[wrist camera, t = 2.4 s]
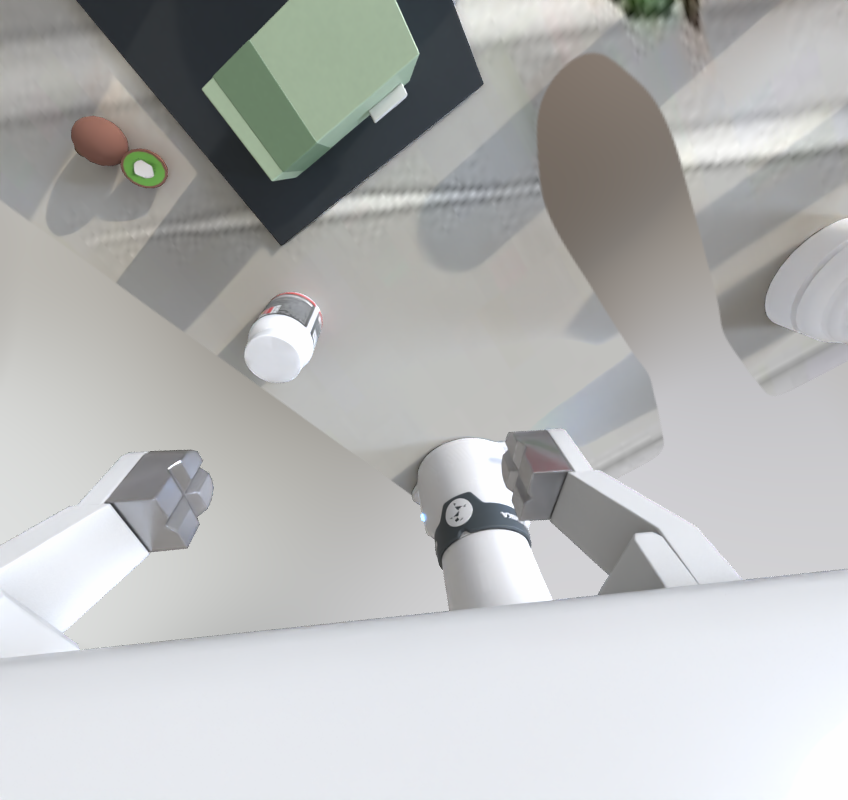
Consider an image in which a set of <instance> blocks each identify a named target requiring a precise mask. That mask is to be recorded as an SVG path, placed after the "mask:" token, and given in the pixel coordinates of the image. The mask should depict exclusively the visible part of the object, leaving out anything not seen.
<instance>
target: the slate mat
mask: <svg viewBox="0 0 848 800" xmlns="http://www.w3.org/2000/svg"><path fill="white" fill-rule="evenodd" d="M287 1H288V0H77V2H78V3H79V4H80V5H81V6H82V8H83V9H84V10H85V11H86V12H87V14H88V15H89V16H90V17H91V18H92V20H93V21H94V22H95V23H96V24H97V26H98V27H99V28H100V29H101V30H102V32H103V33H104V34H105V35H106V36H107V38H108V39H109V40H110V41H111V42H112V44H113V45H114V46H115V47H116V48H117V50H118V51H119V52H120V53H121V54H122V56H123V57H124V58H125V59H126V60H127V62H128V63H129V64H130V65H131V66H132V67H133V69H134V70H135V71H136V72H137V73H138V75H139V76H140V77H141V78H142V79H143V81H144V82H145V83H146V84H147V85H148V87H149V88H150V89H151V90H152V91H153V93H154V94H155V95H156V96H157V97H158V99H159V100H160V101H161V102H162V103H163V105H164V106H165V107H166V108H167V109H168V111H169V112H170V113H171V114H172V115H173V117H174V118H175V119H176V120H177V121H178V123H179V124H180V125H181V126H182V127H183V129H184V130H185V131H186V132H187V133H188V135H189V136H190V137H191V138H192V139H193V141H194V142H195V143H196V144H197V145H198V147H199V148H200V149H201V150H202V151H203V153H204V154H205V155H206V156H207V157H208V158H209V160H210V161H211V162H212V163H213V164H214V166H215V167H216V168H217V169H218V170H219V172H220V173H221V174H222V175H223V176H224V178H225V179H226V180H227V181H228V182H229V184H230V185H231V186H232V187H233V188H234V190H235V191H236V192H237V193H238V194H239V196H240V197H241V198H242V199H243V200H244V202H245V203H246V204H247V205H248V206H249V208H250V209H251V210H252V211H253V212H254V214H255V215H256V216H257V217H258V218H259V220H260V221H261V222H262V223H263V224H264V226H265V227H266V228H267V229H268V230H269V232H270V233H271V234H272V235H273V236H274V238H275V239H276V240H277V241H278V242H279V244H280V245H283V244H284V243H285V242H287V241H288V240H289V239H290V238H292V237H293V236H294V235H295V234H297V233H298V232H299V231H300V230H302V229H303V228H304V227H305V226H307V225H308V224H309V223H310V222H312V221H313V220H314V219H315V218H317V217H318V216H319V215H320V214H322V213H323V212H324V211H325V210H327V209H328V208H329V207H330V206H332V205H333V204H334V203H335V202H337V201H338V200H339V199H340V198H342V197H343V196H344V195H345V194H347V193H348V192H349V191H350V190H352V189H353V188H354V187H355V186H357V185H358V184H359V183H360V182H362V181H363V180H364V179H365V178H367V177H368V176H369V175H370V174H372V173H373V172H374V171H375V170H377V169H378V168H379V167H380V166H382V165H383V164H384V163H385V162H387V161H388V160H389V159H390V158H392V157H393V156H394V155H395V154H397V153H398V152H399V151H400V150H402V149H403V148H404V147H405V146H407V145H408V144H409V143H410V142H412V141H413V140H414V139H415V138H417V137H418V136H419V135H420V134H422V133H423V132H424V131H425V130H427V129H428V128H429V127H430V126H432V125H433V124H434V123H435V122H437V121H438V120H439V119H440V118H442V117H443V116H444V115H445V114H447V113H448V112H449V111H450V110H452V109H453V108H454V107H455V106H457V105H458V104H459V103H460V102H462V101H463V100H464V99H465V98H467V97H468V96H469V95H470V94H472V93H473V92H474V91H475V90H477V89H478V88H479V87H480V86H482V85H483V81H482V78H481V76H480V73H479V70H478V68H477V65H476V62H475V60H474V57H473V54H472V52H471V49H470V46H469V44H468V41H467V38H466V36H465V33H464V31H463V28H462V25H461V23H460V20H459V17H458V15H457V12H456V9H455V7H454V4H453V1H452V0H396V2H397V4H398V6H399V8H400V11H401V13H402V15H403V17H404V20H405V22H406V24H407V26H408V29H409V31H410V33H411V35H412V37H413V40H414V42H415V44H416V46H417V49H418V51H419V56H418V59H417V62H416V65H415V67H414V70H413V73H412V75H411V78H410V81H409V82H408V83H407V84H406V85H404V88H405V90H406V92H407V97H406V98H405V99H404V100H403V101H402V102H400V103H399V104H398V105H397V106H396V107H394V108H393V109H392V110H391V111H390V112H388V113H387V114H386V115H385V116H384V117H382V118H381V119H380V120H379V121H378V122H377V123H374V121H373V119H372V117H371V115H369V116H368V117H367V118H366V119H364V120H363V121H362V122H361V123H360V124H359V125H357V126H356V127H355V128H354V129H353V130H351V131H350V132H349V133H348V134H347V135H346V136H344V137H343V138H342V139H341V140H340V141H339V142H337V143H336V144H335V145H334V146H333V147H331V149H330V150H328V151H327V152H326V153H325V154H324V155H323V156H321V157H320V158H319V159H318V160H317V161H316V162H314V163H313V164H312V165H311V166H310V167H308V168H307V169H306V170H305V171H303V172H302V173H301V174H300V175H299V176H297V177H296V178H290V179H284V180H277V181H271V180H270V178H269V177H268V176H267V174H266V173H265V172H264V170H263V169H262V168H261V167H260V165H259V164H258V163H257V161H256V160H255V159H254V157H253V156H252V155H251V153H250V152H249V151H248V150H247V148H246V147H245V146H244V144H243V143H242V142H241V140H240V139H239V138H238V137H237V135H236V134H235V133H234V131H233V130H232V129H231V127H230V126H229V125H228V123H227V122H226V121H225V120H224V118H223V117H222V116H221V114H220V113H219V112H218V110H217V109H216V108H215V107H214V105H213V104H212V103H211V101H210V100H209V99H208V97H207V96H206V95H205V93H204V92H203V91H202V88H203V87H204V86H205V85H206V84H207V83H208V82H209V81H210V80H211V79H212V78H213V75H214V74H215V73H216V72H217V71H218V70H219V69H220V68H221V67H222V66H223V65H224V64H225V63H226V62H227V61H228V60H229V59H230V58H231V57H232V56H233V55H234V54H235V53H236V52H237V51H238V50H239V49H240V48H241V47H242V46H243V45H244V44H245V43H246V42H247V41H248V40H250V39H251V38H252V37H253V36H254V35H255V34H256V33H257V32H258V31H259V30H260V29H261V28H262V27H263V26H264V25H265V24H266V23H267V22H268V21H269V20H270V19H271V18H272V17H273V16H274V15H275V14H276V13H277V12H278V11H279V10H280V9H281V8H282V7H283V5H284V4H285V3H286V2H287Z"/></svg>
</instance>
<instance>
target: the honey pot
mask: <svg viewBox="0 0 848 800" xmlns="http://www.w3.org/2000/svg"><path fill="white" fill-rule="evenodd" d="M765 310H766V314H767V317H768V318H769V319H770V320H771V321H772V322H773V323H775V324H778V325H780V326H783V327H785V328H788V329H790V330H793V331H795V332H798V333H800V334H803V335H805V336H808V337H811V338H813V339H815V340H818V341H821V342H826V343H843V344H848V218H845V219H841V220H839V221H837V222H835V223H833V224H831V225H829V226H827V227H825V228H823V229H822V230H820V231H819V232H817V233H816V234H814V235H813V236H811V237H810V238H809V239H807V240H806V241H805V242H804V243H803V244H802V245H801V246H800V247H798V248H797V249H796V250H795V251H794V252H793V253H792V254H791V255H790V256H789V258H788V259H787V260H786V261H785V262H784V264H783V265H782V266H781V267H780V269H779V270H778V272H777V274H776V275H775V277H774V278H773V280H772V282H771V284H770V287H769V289H768V292H767V294H766V301H765Z"/></svg>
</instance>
